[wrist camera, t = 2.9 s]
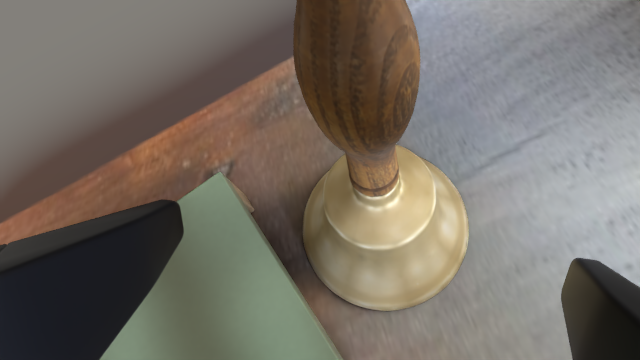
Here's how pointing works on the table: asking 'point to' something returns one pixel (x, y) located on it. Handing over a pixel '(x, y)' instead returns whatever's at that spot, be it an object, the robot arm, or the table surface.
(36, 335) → the robot arm
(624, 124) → the table surface
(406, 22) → the hand bell
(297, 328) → the rack
